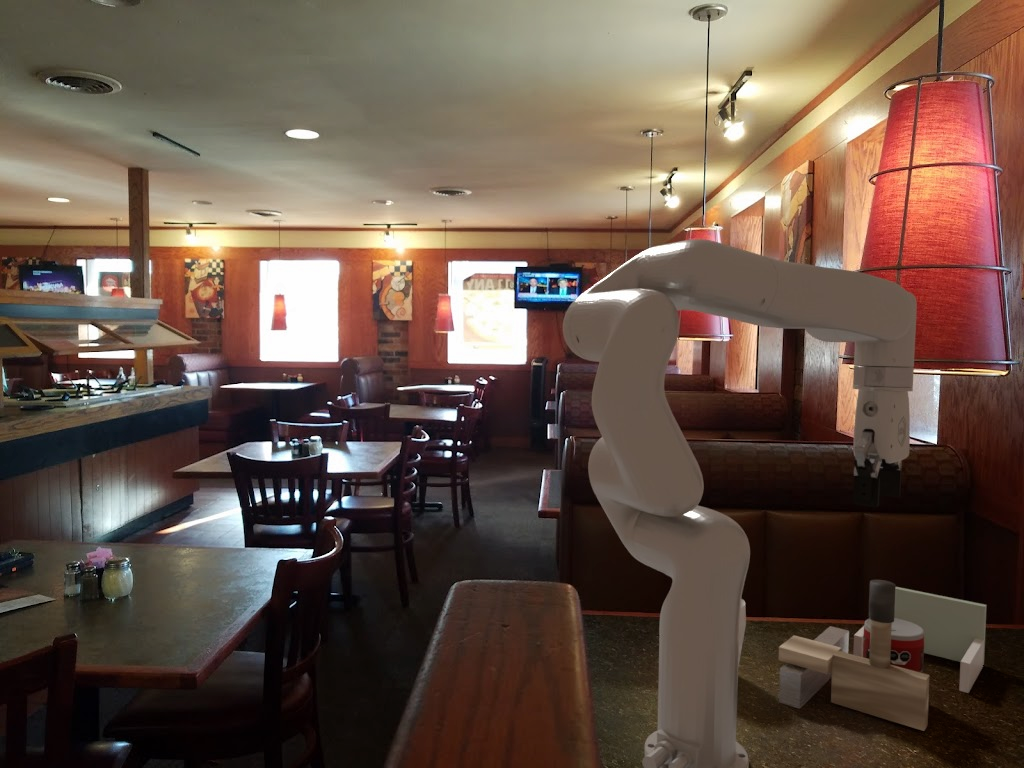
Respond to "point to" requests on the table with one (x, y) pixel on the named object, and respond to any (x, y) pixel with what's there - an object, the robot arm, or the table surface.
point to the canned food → (901, 644)
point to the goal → (943, 629)
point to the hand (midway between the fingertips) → (877, 500)
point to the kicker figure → (868, 668)
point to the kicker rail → (808, 672)
